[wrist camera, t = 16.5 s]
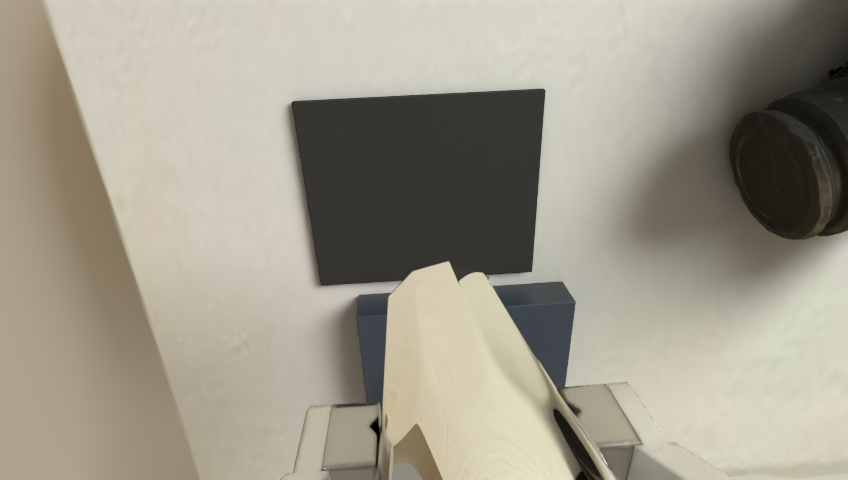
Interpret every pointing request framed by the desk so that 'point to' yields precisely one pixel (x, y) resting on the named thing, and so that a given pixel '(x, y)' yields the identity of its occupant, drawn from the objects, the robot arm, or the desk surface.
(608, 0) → the desk surface
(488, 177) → the mat
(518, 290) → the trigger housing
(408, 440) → the milkshake
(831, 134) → the film camera
